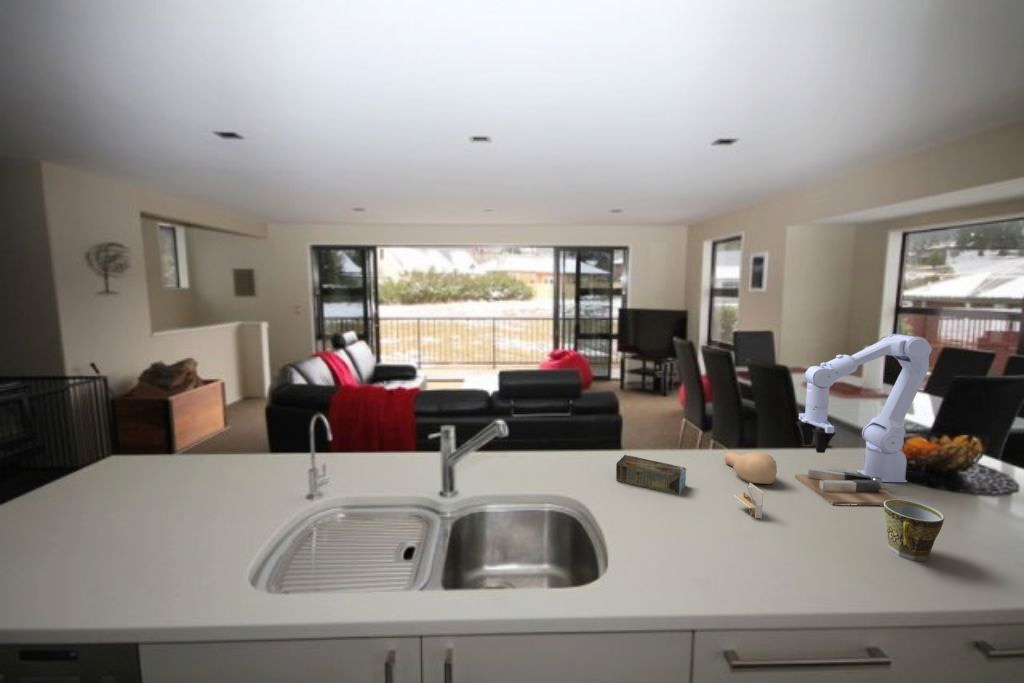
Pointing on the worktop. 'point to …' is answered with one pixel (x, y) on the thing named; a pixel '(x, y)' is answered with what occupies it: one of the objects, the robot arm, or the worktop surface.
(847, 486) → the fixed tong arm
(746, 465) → the squash
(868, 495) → the board
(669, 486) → the beverage carton
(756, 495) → the architectural model
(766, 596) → the worktop surface
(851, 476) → the bar
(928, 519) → the ceramic cup
